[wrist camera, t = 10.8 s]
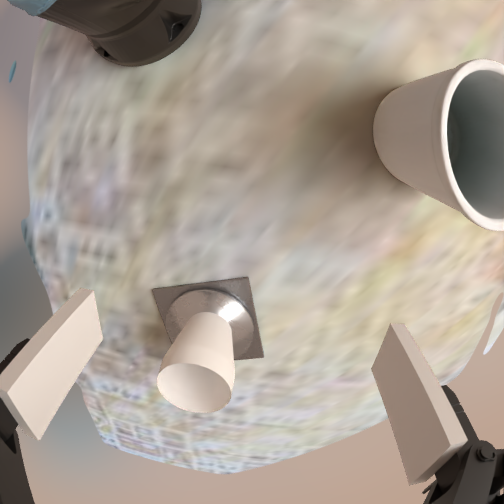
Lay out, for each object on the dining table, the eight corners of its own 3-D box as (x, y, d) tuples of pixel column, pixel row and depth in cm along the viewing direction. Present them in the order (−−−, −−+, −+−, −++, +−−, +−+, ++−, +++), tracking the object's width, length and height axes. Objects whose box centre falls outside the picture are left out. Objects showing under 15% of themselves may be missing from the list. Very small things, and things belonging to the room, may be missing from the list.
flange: (153, 288, 42) (150, 293, 40) (248, 276, 40) (247, 282, 39) (180, 361, 47) (178, 367, 45) (263, 355, 45) (263, 361, 44)
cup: (252, 327, 42) (248, 388, 30) (217, 362, 44) (206, 422, 33) (199, 292, 40) (177, 348, 29) (168, 332, 43) (143, 388, 32)
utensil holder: (394, 209, 36) (469, 262, 20) (345, 105, 32) (409, 83, 15) (471, 166, 33) (558, 192, 17) (431, 69, 29) (517, 46, 12)
